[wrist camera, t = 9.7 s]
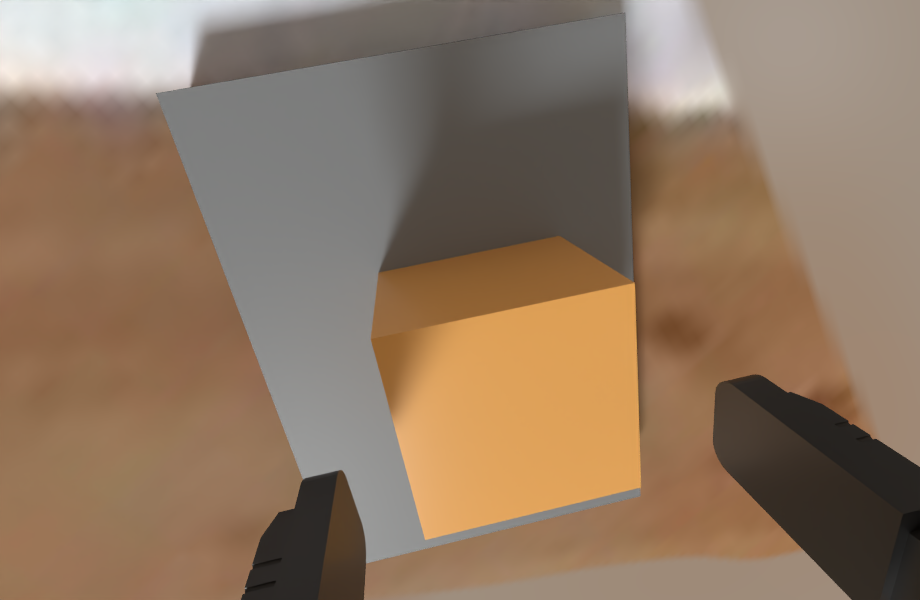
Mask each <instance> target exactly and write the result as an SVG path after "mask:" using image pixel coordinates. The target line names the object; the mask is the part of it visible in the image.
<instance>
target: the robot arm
mask: <svg viewBox="0 0 920 600" xmlns="http://www.w3.org/2000/svg"><path fill="white" fill-rule="evenodd" d="M713 445H714V449H715V452H716V455H717V457H718V459H719V461H720V463H721V464H722V466H723V467H724V468H725V470H726V471H727V472H728V473H729V474H730V475H731V476H732V477H733V478H734V479H735V480H736V481H737V482H738V483H739V484H740V485H741V486H742V487H743V488H744V489H745V490H746V491H747V492H748V493H749V494H750V495H751V496H752V498H753V499H754V500H755V501H756V502H757V503H758V504H759V505H760V506H761V507H762V508H763V509H764V510H765V511H766V512H767V513H768V514H769V515H770V516H771V517H772V518H773V519H774V520H775V521H776V522H777V523H778V524H779V525H780V526H781V527H782V528H783V529H784V530H785V531H786V533H787V534H788V535H789V536H790V537H791V538H792V539H793V540H794V541H795V542H796V543H797V544H798V545H799V546H800V547H801V548H802V549H803V550H804V551H805V552H806V553H807V554H808V555H809V556H810V557H811V558H812V559H813V560H814V561H815V562H816V563H817V564H818V565H819V566H820V567H821V568H822V570H823V571H824V572H825V573H826V574H827V575H828V576H829V577H830V578H831V579H832V580H833V581H834V582H835V583H836V584H837V585H838V586H839V587H840V588H841V589H842V590H843V591H844V592H845V593H846V594H847V595H848V596H849V597H850V598H851V599H852V600H920V467H919V466H917V465H916V464H914V463H913V462H911V461H910V460H908V459H907V458H905V457H903V456H902V455H900V454H899V453H897V452H896V451H894V450H893V449H891V448H890V447H888V446H886V445H885V444H883V443H882V442H880V441H879V440H877V439H872V438H871V437H870V435H869V434H868V433H866V432H865V431H863V430H862V429H860V428H859V427H857V426H855V425H854V424H852V425H850V424H849V423H848V420H846V419H845V418H843V417H841V416H840V415H838V414H837V413H835V412H834V411H832V410H831V409H829V408H827V407H826V406H824V405H823V404H821V403H818V402H816V401H813V400H810V399H808V398H805V397H802V396H800V395H797V394H795V393H792V392H789V393H787V392H786V391H784V390H783V389H781V388H780V387H778V386H777V385H775V384H774V383H772V382H771V381H769V380H768V379H766V378H765V377H763V376H761V375H756V374H755V375H750V376H746V377H741V378H737V379H733V380H728V381H724V382H721V383H719V384H718V386H717V387H716V392H715V410H714V429H713ZM252 566H253V569H252V570H250V573H249V576H248V580H247V583H246V586H245V594H243V595H242V598H241V600H364V585H365V569H366V542H365V535H364V530H363V525H362V522H361V519H360V516H359V513H358V510H357V507H356V505H355V502H354V499H353V496H352V493H351V490H350V487H349V484H348V481H347V478H346V476H345V474H344V472H343V471H342V470H338V471H334V472H329V473H325V474H321V475H317V476H312V477H308V478H305V479H303V481H302V483H301V486H300V490H299V493H298V497H297V501H296V505H295V509H291V510H287V511H283V512H279V513H278V514H277V516H276V517H275V519H274V520H273V521H272V523H271V524H270V526H269V527H268V528H267V530H266V531H265V533H264V534H263V535H262V537H261V539H260V542H259V545H258V548H257V551H256V555H255V558H254V561H253V564H252Z"/></svg>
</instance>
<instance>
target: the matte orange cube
mask: <svg viewBox="0 0 920 600" xmlns="http://www.w3.org/2000/svg"><path fill="white" fill-rule="evenodd" d="M371 342H372V346H373V350H374V353H375V357H376V361H377V364H378V368H379V372H380V375H381V379H382V383H383V387H384V390H385V394H386V398H387V401H388V405H389V409H390V412H391V416H392V420H393V423H394V427H395V431H396V434H397V438H398V442H399V446H400V449H401V453H402V457H403V460H404V464H405V468H406V471H407V475H408V479H409V482H410V486H411V490H412V494H413V497H414V501H415V505H416V508H417V512H418V516H419V519H420V523H421V527H422V530H423V534H424V538H425V540H428V539H432V538H436V537H440V536H444V535H448V534H452V533H456V532H460V531H464V530H469V529H473V528H477V527H481V526H485V525H489V524H493V523H497V522H501V521H506V520H510V519H514V518H518V517H522V516H526V515H530V514H534V513H538V512H542V511H547V510H551V509H555V508H559V507H563V506H567V505H571V504H575V503H579V502H583V501H588V500H592V499H596V498H600V497H604V496H608V495H612V494H616V493H620V492H625V491H629V490H633V489H637V488H641V470H640V436H639V403H638V370H637V337H636V304H635V283H634V282H633V281H631V280H629V279H628V278H626V277H625V276H623V275H621V274H620V273H618V272H617V271H615V270H613V269H612V268H610V267H609V266H607V265H606V264H604V263H602V262H601V261H599V260H598V259H596V258H594V257H593V256H591V255H590V254H588V253H586V252H585V251H583V250H582V249H580V248H578V247H577V246H575V245H574V244H572V243H570V242H569V241H567V240H566V239H564V238H562V237H561V236H556V237H551V238H546V239H541V240H536V241H531V242H527V243H522V244H517V245H512V246H507V247H502V248H497V249H492V250H487V251H482V252H477V253H472V254H468V255H463V256H458V257H453V258H448V259H443V260H438V261H433V262H428V263H423V264H418V265H413V266H409V267H404V268H399V269H394V270H389V271H384V272H379V273H378V281H377V289H376V298H375V306H374V315H373V323H372V332H371Z"/></svg>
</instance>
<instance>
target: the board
mask: <svg viewBox="0 0 920 600" xmlns="http://www.w3.org/2000/svg"><path fill="white" fill-rule="evenodd" d="M156 94H157V97H158V100H159V102H160V105H161V108H162V110H163V113H164V115H165V118H166V121H167V123H168V126H169V129H170V131H171V134H172V136H173V139H174V142H175V144H176V147H177V150H178V152H179V155H180V157H181V160H182V163H183V165H184V168H185V171H186V173H187V176H188V178H189V181H190V184H191V186H192V189H193V192H194V194H195V197H196V199H197V202H198V205H199V207H200V210H201V213H202V215H203V218H204V220H205V223H206V226H207V228H208V231H209V234H210V236H211V239H212V241H213V244H214V247H215V249H216V252H217V255H218V257H219V260H220V262H221V265H222V268H223V270H224V273H225V276H226V278H227V281H228V283H229V286H230V289H231V291H232V294H233V297H234V299H235V302H236V304H237V307H238V310H239V312H240V315H241V318H242V320H243V323H244V325H245V328H246V331H247V333H248V336H249V339H250V341H251V344H252V346H253V349H254V352H255V354H256V357H257V360H258V362H259V365H260V367H261V370H262V373H263V375H264V378H265V381H266V383H267V386H268V388H269V391H270V394H271V396H272V399H273V402H274V404H275V407H276V409H277V412H278V415H279V417H280V420H281V423H282V425H283V428H284V430H285V433H286V436H287V438H288V441H289V444H290V446H291V449H292V452H293V454H294V457H295V459H296V462H297V465H298V467H299V470H300V473H301V475H302V478H303V479H305V478H308V477H312V476H317V475H321V474H325V473H329V472H334V471H338V470H342V471H343V472H344V474H345V476H346V478H347V481H348V484H349V487H350V490H351V493H352V496H353V499H354V502H355V505H356V507H357V510H358V513H359V516H360V519H361V522H362V525H363V530H364V535H365V542H366V563H369V562H373V561H377V560H382V559H386V558H390V557H394V556H398V555H402V554H406V553H410V552H414V551H418V550H422V549H426V548H431V547H435V546H439V545H443V544H447V543H451V542H455V541H459V540H463V539H467V538H471V537H475V536H479V535H484V534H488V533H492V532H496V531H500V530H504V529H508V528H512V527H516V526H520V525H524V524H528V523H533V522H537V521H541V520H545V519H549V518H553V517H557V516H561V515H565V514H569V513H573V512H577V511H582V510H586V509H590V508H594V507H598V506H602V505H606V504H610V503H614V502H618V501H622V500H626V499H630V498H635V497H639V496H640V488H637V489H633V490H629V491H625V492H620V493H616V494H612V495H608V496H604V497H600V498H596V499H592V500H588V501H583V502H579V503H575V504H571V505H567V506H563V507H559V508H555V509H551V510H547V511H542V512H538V513H534V514H530V515H526V516H522V517H518V518H514V519H510V520H506V521H501V522H497V523H493V524H489V525H485V526H481V527H477V528H473V529H469V530H464V531H460V532H456V533H452V534H448V535H444V536H440V537H436V538H432V539H428V540H425V538H424V534H423V530H422V527H421V523H420V519H419V516H418V512H417V508H416V505H415V501H414V497H413V494H412V490H411V486H410V482H409V479H408V475H407V471H406V468H405V464H404V460H403V457H402V453H401V449H400V446H399V442H398V438H397V434H396V431H395V427H394V423H393V420H392V416H391V412H390V409H389V405H388V401H387V398H386V394H385V390H384V387H383V383H382V379H381V375H380V372H379V368H378V364H377V361H376V357H375V353H374V350H373V346H372V342H371V332H372V323H373V315H374V306H375V298H376V289H377V281H378V273H379V272H384V271H389V270H394V269H399V268H404V267H409V266H413V265H418V264H423V263H428V262H433V261H438V260H443V259H448V258H453V257H458V256H463V255H468V254H472V253H477V252H482V251H487V250H492V249H497V248H502V247H507V246H512V245H517V244H522V243H527V242H531V241H536V240H541V239H546V238H551V237H556V236H561V237H562V238H564V239H566V240H567V241H569V242H570V243H572V244H574V245H575V246H577V247H578V248H580V249H582V250H583V251H585V252H586V253H588V254H590V255H591V256H593V257H594V258H596V259H598V260H599V261H601V262H602V263H604V264H606V265H607V266H609V267H610V268H612V269H613V270H615V271H617V272H618V273H620V274H621V275H623V276H625V277H626V278H628V279H629V280H631V281H633V282H634V278H633V246H632V214H631V182H630V151H629V119H628V87H627V55H626V23H625V13H620V14H614V15H608V16H603V17H597V18H591V19H585V20H579V21H574V22H568V23H562V24H556V25H550V26H545V27H539V28H533V29H527V30H521V31H515V32H510V33H504V34H498V35H492V36H486V37H481V38H475V39H469V40H463V41H457V42H452V43H446V44H440V45H434V46H428V47H423V48H417V49H411V50H405V51H399V52H394V53H388V54H382V55H376V56H370V57H365V58H359V59H353V60H347V61H341V62H336V63H330V64H324V65H318V66H312V67H306V68H301V69H295V70H289V71H283V72H277V73H272V74H266V75H260V76H254V77H248V78H243V79H237V80H231V81H225V82H219V83H214V84H208V85H202V86H196V87H190V88H185V89H179V90H173V91H167V92H161V93H156Z"/></svg>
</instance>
